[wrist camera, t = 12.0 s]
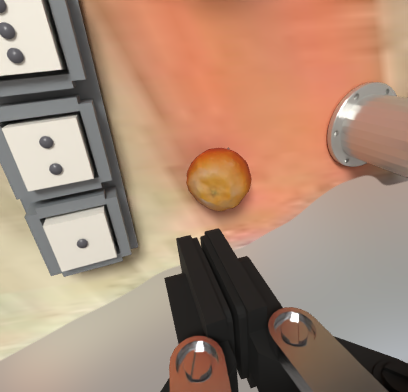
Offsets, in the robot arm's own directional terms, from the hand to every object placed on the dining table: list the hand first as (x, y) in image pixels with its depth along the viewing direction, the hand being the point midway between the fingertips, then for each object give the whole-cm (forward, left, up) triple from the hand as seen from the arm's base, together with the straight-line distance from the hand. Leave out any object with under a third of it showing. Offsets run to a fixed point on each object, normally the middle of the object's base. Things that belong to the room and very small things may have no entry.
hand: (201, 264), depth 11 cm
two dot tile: (+8, 0, -24) cm, 25 cm away
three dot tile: (+8, -10, -24) cm, 27 cm away
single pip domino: (+8, +10, -24) cm, 27 cm away
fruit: (-9, +7, -26) cm, 28 cm away
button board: (+8, 0, -26) cm, 27 cm away
